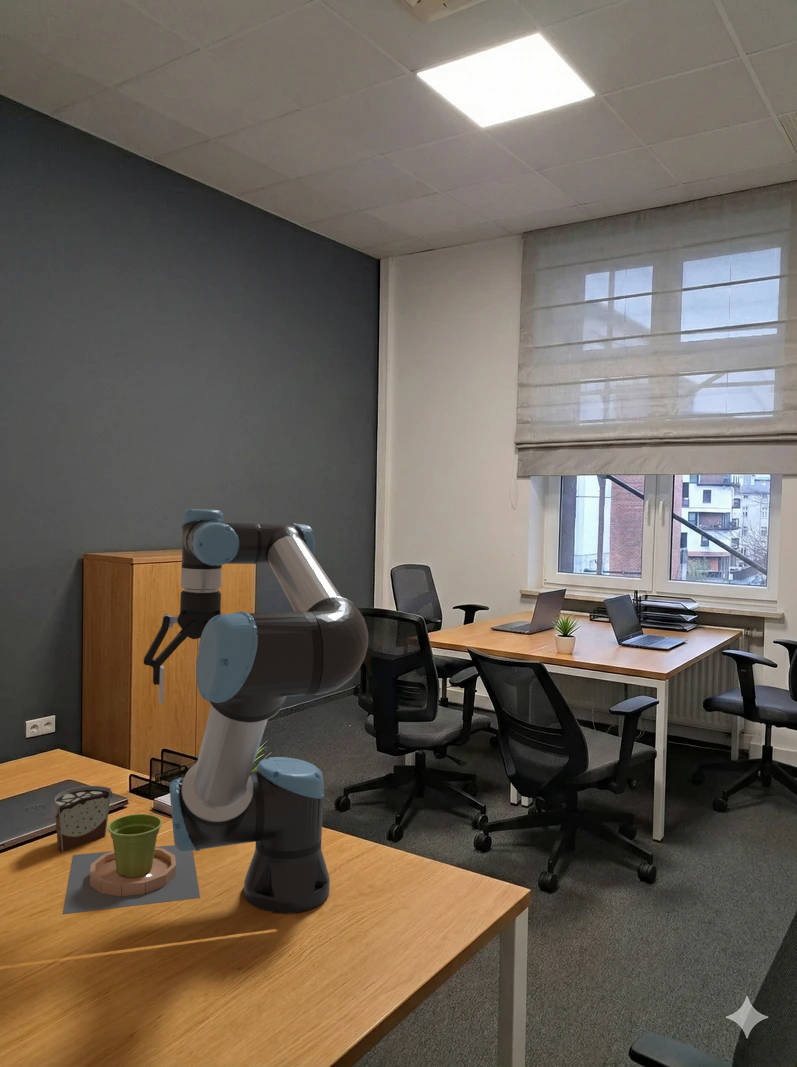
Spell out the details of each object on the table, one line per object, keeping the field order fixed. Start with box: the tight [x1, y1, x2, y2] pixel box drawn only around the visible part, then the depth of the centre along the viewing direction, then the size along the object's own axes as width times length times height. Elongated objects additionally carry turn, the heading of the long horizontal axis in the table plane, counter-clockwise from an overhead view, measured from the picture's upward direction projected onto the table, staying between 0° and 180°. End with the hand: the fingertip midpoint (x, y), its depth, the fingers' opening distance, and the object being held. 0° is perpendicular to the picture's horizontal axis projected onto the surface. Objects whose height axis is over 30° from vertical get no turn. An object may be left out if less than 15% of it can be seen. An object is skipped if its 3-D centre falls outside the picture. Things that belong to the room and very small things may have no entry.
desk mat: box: [62, 844, 201, 915], centre depth 143 cm, size 22×22×1 cm
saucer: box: [90, 846, 176, 896], centre depth 143 cm, size 15×15×2 cm
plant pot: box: [107, 813, 163, 878], centre depth 143 cm, size 9×9×9 cm
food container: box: [50, 785, 114, 853], centre depth 157 cm, size 12×6×10 cm, turn 144°
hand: (197, 699), depth 151 cm, fingers open, 13 cm apart
